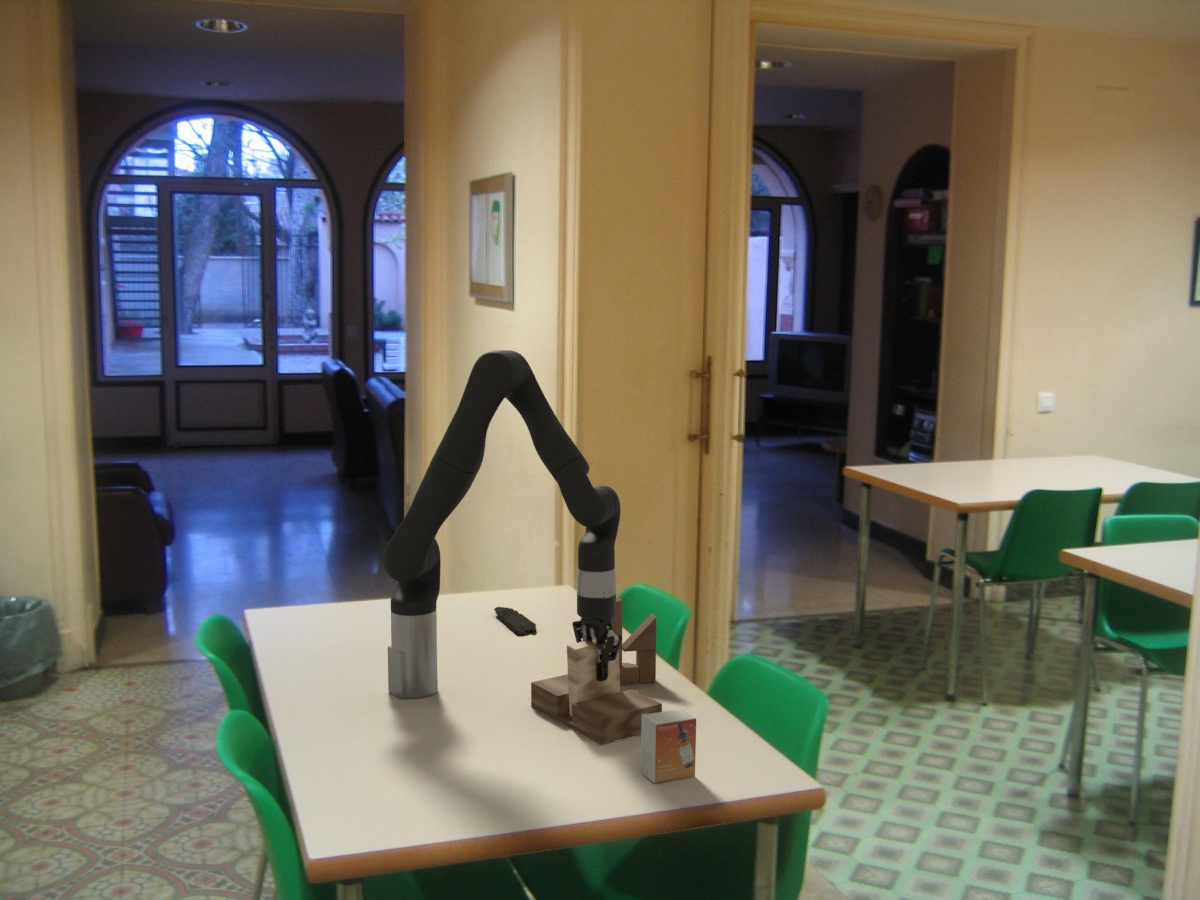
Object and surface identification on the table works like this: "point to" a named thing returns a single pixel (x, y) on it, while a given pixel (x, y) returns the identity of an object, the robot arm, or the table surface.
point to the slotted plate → (593, 710)
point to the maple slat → (589, 674)
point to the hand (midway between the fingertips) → (596, 677)
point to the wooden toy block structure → (637, 649)
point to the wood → (516, 621)
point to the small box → (668, 745)
